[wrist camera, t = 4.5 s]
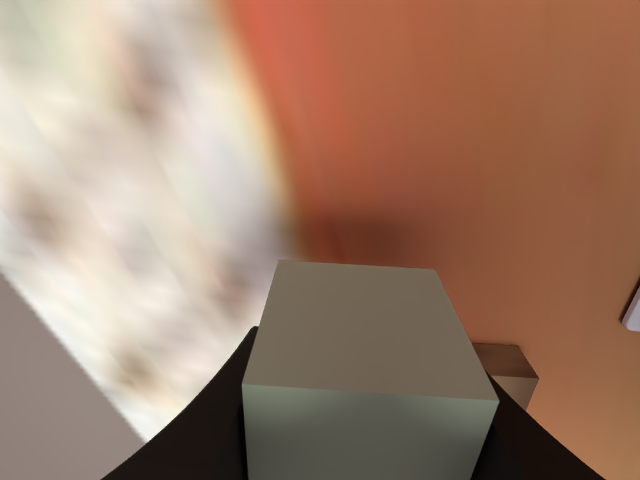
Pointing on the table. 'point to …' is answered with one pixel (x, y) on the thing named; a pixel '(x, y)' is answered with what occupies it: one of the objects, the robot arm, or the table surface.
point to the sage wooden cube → (363, 378)
